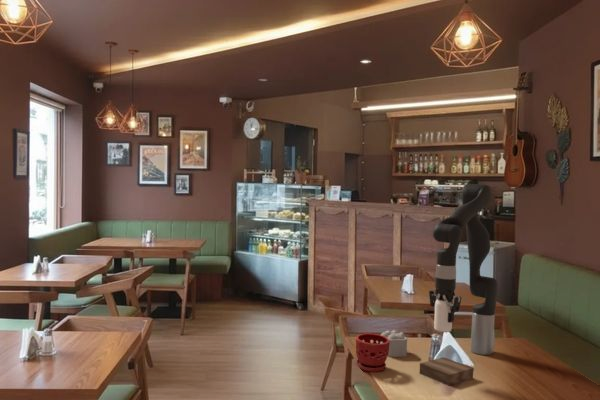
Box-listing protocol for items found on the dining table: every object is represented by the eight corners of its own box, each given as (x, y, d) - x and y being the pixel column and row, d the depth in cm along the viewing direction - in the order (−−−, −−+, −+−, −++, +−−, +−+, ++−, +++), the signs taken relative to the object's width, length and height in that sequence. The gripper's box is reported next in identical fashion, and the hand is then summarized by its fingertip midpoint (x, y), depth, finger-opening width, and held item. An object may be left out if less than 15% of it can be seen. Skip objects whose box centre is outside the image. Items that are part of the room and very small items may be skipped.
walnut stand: (443, 367, 213) (443, 357, 213) (472, 378, 201) (473, 367, 201) (419, 373, 204) (419, 363, 204) (449, 385, 193) (449, 374, 193)
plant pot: (350, 370, 205) (351, 339, 205) (361, 360, 217) (362, 331, 217) (382, 376, 200) (384, 345, 199) (392, 366, 212) (393, 336, 211)
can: (451, 333, 200) (453, 301, 199) (434, 331, 201) (435, 300, 201) (451, 328, 206) (452, 297, 206) (433, 326, 208) (435, 296, 207)
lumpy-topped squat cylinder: (385, 357, 223) (386, 336, 222) (376, 347, 235) (377, 327, 235) (409, 356, 224) (410, 336, 224) (398, 347, 237) (399, 327, 237)
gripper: (467, 278, 199) (465, 323, 200) (437, 272, 211) (435, 314, 211) (454, 280, 195) (452, 326, 195) (424, 274, 206) (422, 317, 207)
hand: (443, 320), depth 203 cm, fingers closed on can, 5 cm apart
